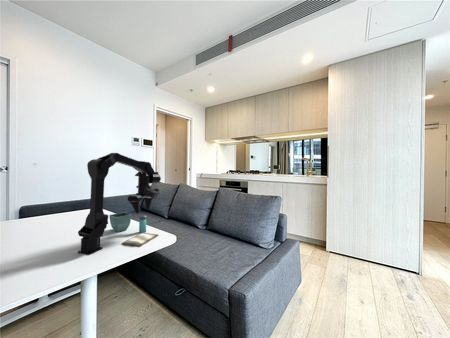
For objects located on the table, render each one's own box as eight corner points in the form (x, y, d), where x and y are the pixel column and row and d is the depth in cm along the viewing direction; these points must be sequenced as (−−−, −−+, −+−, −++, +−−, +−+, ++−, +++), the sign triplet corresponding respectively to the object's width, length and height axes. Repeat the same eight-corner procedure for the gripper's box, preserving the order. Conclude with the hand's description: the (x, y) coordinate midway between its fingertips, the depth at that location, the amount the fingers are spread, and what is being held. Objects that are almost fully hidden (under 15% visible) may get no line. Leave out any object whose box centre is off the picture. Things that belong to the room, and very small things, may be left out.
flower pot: (115, 233, 103) (115, 217, 103) (108, 230, 108) (108, 214, 108) (131, 230, 110) (131, 214, 110) (124, 226, 115) (124, 212, 115)
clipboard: (140, 246, 87) (140, 243, 87) (121, 244, 90) (121, 241, 90) (158, 235, 102) (158, 233, 102) (142, 233, 104) (142, 231, 104)
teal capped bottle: (143, 233, 105) (143, 217, 105) (137, 232, 106) (137, 216, 106) (147, 231, 108) (148, 215, 108) (141, 230, 109) (142, 215, 109)
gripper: (146, 186, 96) (145, 216, 96) (165, 183, 114) (164, 209, 114) (127, 185, 98) (126, 215, 99) (148, 182, 117) (148, 207, 117)
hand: (142, 211), depth 107 cm, fingers open, 9 cm apart
